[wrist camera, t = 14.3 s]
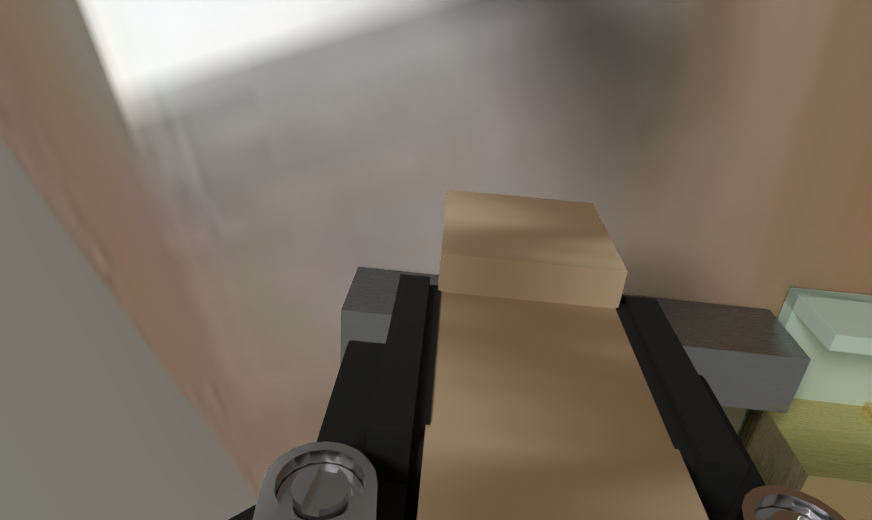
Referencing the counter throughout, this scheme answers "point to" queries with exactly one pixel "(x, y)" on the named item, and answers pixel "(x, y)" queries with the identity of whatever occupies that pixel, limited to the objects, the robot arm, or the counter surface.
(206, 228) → the counter surface
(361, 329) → the slot board
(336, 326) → the counter surface
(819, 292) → the tray
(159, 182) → the counter surface
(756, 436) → the tan cube
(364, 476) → the robot arm
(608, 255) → the tan gable carton
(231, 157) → the counter surface
